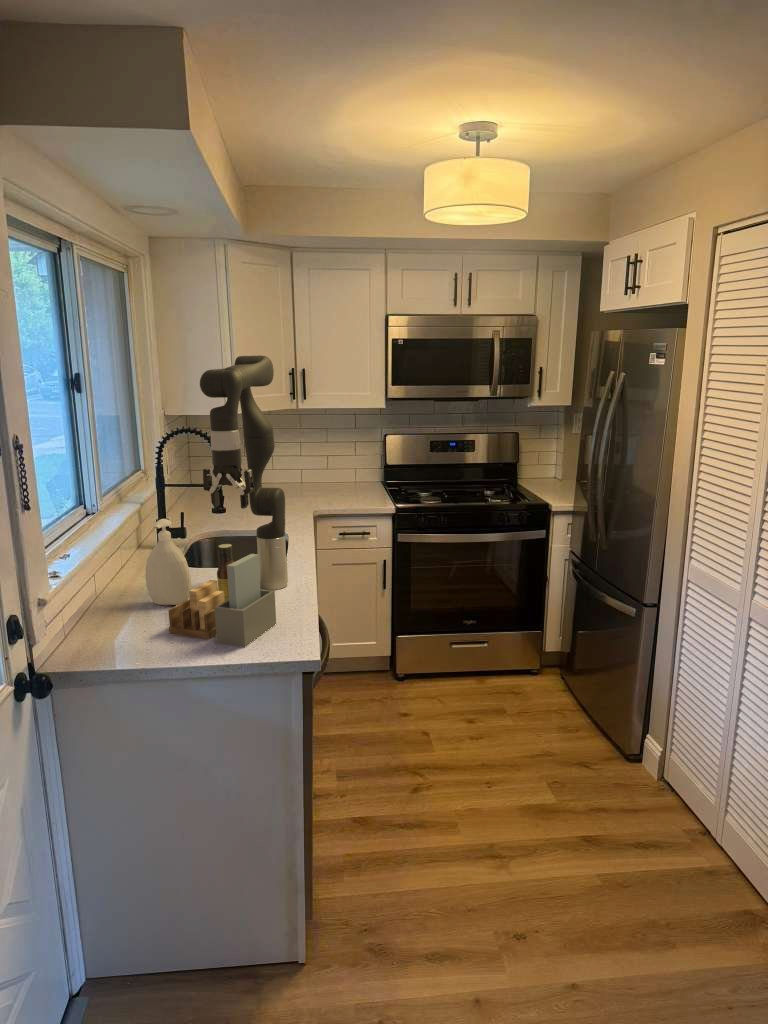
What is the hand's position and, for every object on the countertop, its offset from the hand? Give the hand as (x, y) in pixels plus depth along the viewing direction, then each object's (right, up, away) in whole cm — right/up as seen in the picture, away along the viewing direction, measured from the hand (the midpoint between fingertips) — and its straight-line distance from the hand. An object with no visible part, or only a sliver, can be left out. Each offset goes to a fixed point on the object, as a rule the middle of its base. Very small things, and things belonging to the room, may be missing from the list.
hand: (230, 507), depth 178 cm
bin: (+4, -35, +3) cm, 35 cm away
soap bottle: (-25, -30, +27) cm, 47 cm away
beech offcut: (-6, -32, +5) cm, 33 cm away
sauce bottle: (-5, -31, +23) cm, 39 cm away
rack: (-9, -34, +8) cm, 36 cm away
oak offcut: (-9, -32, +8) cm, 34 cm away
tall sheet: (+4, -34, +3) cm, 34 cm away
